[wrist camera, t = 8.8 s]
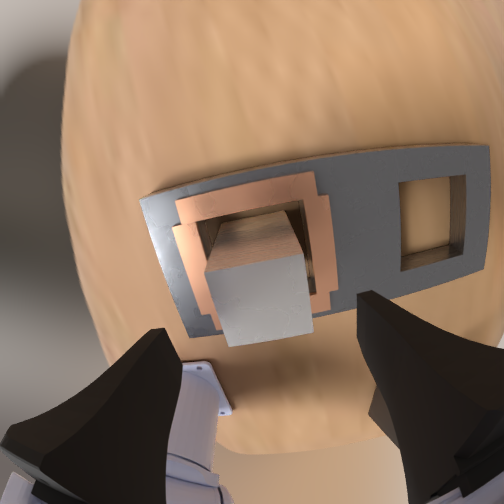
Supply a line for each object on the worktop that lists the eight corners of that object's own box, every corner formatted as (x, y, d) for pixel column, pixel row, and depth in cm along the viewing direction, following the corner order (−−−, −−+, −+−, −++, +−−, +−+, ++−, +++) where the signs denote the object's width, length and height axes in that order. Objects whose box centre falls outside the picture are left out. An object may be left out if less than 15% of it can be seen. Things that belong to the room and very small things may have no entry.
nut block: (236, 278, 19) (228, 347, 12) (221, 222, 17) (203, 272, 11) (294, 267, 19) (313, 332, 12) (284, 210, 17) (303, 253, 11)
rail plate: (194, 321, 20) (188, 340, 18) (150, 193, 17) (137, 200, 14) (470, 259, 18) (485, 270, 16) (472, 143, 15) (491, 145, 12)
